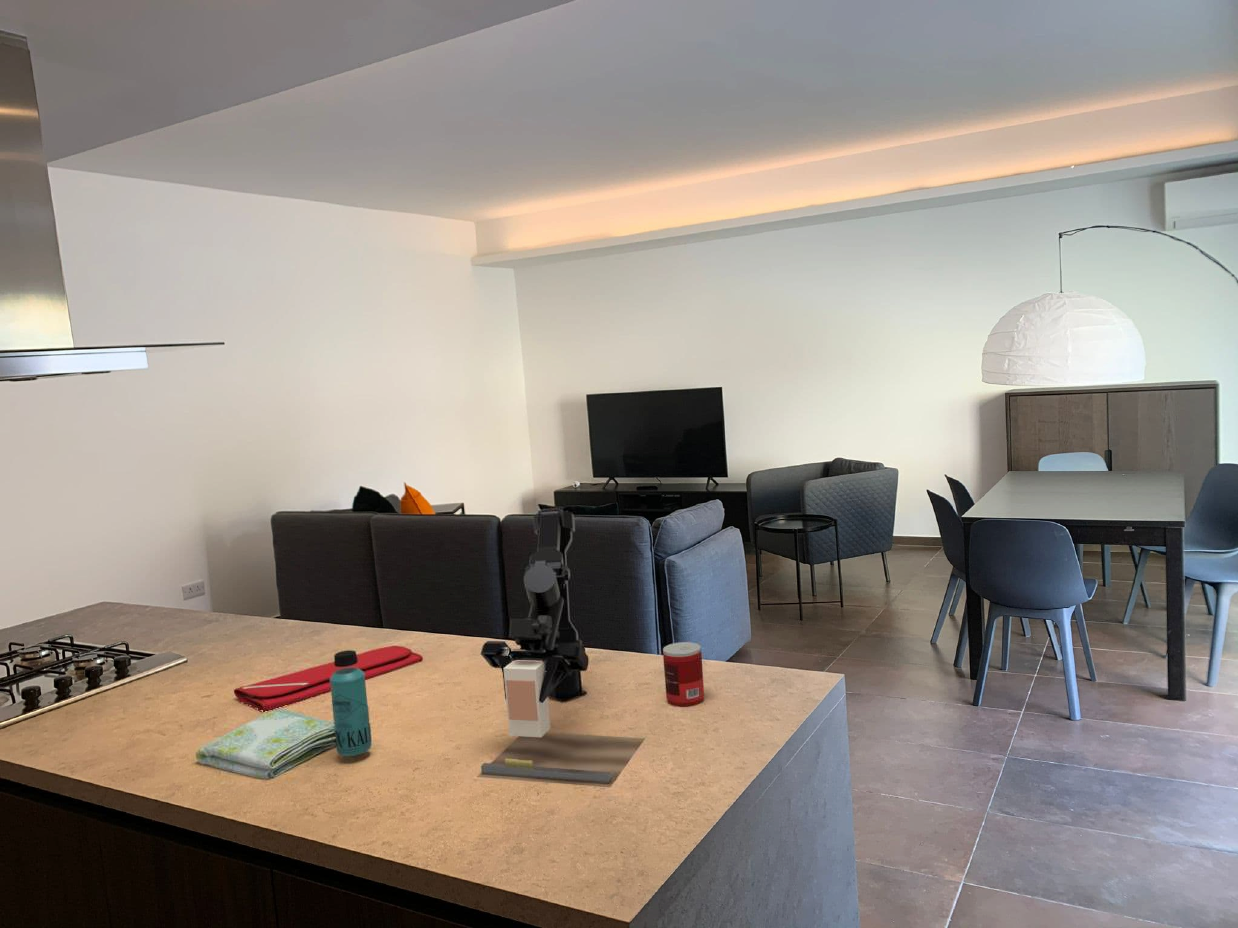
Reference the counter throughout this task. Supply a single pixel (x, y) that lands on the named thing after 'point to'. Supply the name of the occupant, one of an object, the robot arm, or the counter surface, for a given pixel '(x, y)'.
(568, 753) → the shelf board
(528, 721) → the cream box
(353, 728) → the beverage bottle
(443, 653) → the counter surface
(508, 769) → the price rail
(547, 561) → the robot arm
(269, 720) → the towel
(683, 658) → the canned food
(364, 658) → the dish drying mat
